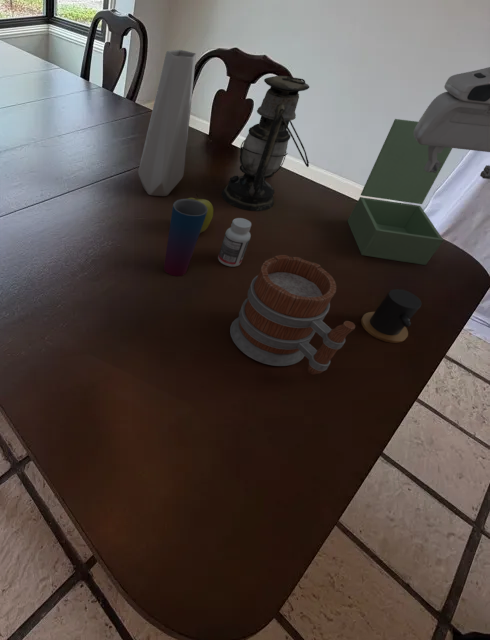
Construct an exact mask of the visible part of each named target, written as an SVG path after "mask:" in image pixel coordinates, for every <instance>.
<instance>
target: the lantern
mask: <svg viewBox="0 0 490 640" xmlns="http://www.w3.org/2000/svg"><path fill="white" fill-rule="evenodd" d="M263 82H264V83H265V84H266V85H267V86H269V88H268V89H267V91H266V92H265V95H264V98H263V99H262V102H261V104H260V106H259V107H258V108H257V110H256V112H257V115H259V116H260V119H259V122H258V123H255V124H253V126H251V127H249V129H248V133H247V136H245V139H244V140H243V141H242V142H241V144H240V149H239V150H240V151H239V153H240V154H239V163H240V166H239V170H240V171H241V173H243V175H240V176H239V175H233V176H231V177H230V178H229V180H228V183H227V185H226V186H225V187H224V188H223V189H222V190H221V193H220V195H221V198H222V199H223V201H225V202H226V203H227V204H229V205H231V206H233V207H235V208H238V209H240V210H245V211H249V212H250V211H251V212H262V211H267V210H270V209H271V208H272V207H273V206H274V205H275V202H274V199H275V198H274V197H275V196H274V194H275V188H274V187H273V186H272V185H271V184H270V183H269V182H268V181H267V180H266V179H269V178H272V177H273V176H275V174H276V173H278V171H279V170H280V169H281V168H282V167H283V164H284V162H285V160H286V156H287V155H288V152H287V150H288V143H289V141H290V139H292V140H293V143H294V145H295V146H296V149H297V150H298V153H299V155H300V157H301V159H302V161H303V163H304V165H305V166H306V167H307V168H308V167H310V164H309V163H310V162H309V159H308V155H307V151H306V149H305V147H304V143H303V142H302V140H301V138H300V137H299V136H300V135H298V133H297V130H296V128H295V127H294V124H293V123H292V121H293V120H296V116H297V115H296V109H297V106H298V102H299V99H300V94H299V92H303V91H307V90H308V89H310V85H309V84H308V83H306V80H305V79H303V78H300V77H294V76H289V75H288V76H287V75H275V76H270V77H266V78H264V79H263ZM288 122H289V124H290V126H291V127H292V129H293V132H294V133H295V135H296V138H297V140H298V141H299V144H300V146H301V148H302V150H303V153H304V155H303V153H302V151H301V149H300V147H299V145H298V143H297V140H296V139H295V137H294V135H293V133H292V131H291V130H290V128H289V126H288Z"/></svg>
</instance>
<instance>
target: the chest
mask: <svg viewBox="0 0 490 640" xmlns="http://www.w3.org/2000/svg"><path fill="white" fill-rule="evenodd" d="M346 221H347V223H348V226H349V228H350V231H351V233H352V236H353V238H354V241H355V243H356V245H357V247H358V250H359V252H360V254H361V256H366V257H372V258H377V259H378V258H379V259H384V260H391V261H398V262H403V263H410V264H417V265H422V266H426V265H427V264H428V263H429V261H430V260H431V259H432V257H433V256H434V255H435V253H436V252H437V251H438V249H439V248H440V246H441V245H442V244H443V243H444V241H445V240H444V238H443V237H442V236H441V234H440V232H439V231H438V230H437V229H436V227H435V225H434V224H433V223H432V220H431V219H430V218H429V216H428V215H427V213H426V212H425V210H424V209H423V208H422V206H421V205H419V204H413V203H406V202H404V203H403V202H399V201H392V200H385V199H378V198H371V197H364V196H360V197H359V198H358V200H357V202H356V203H355V205H354V207H353V209H352V210H351V213H350V215H349V216H348V218H347V220H346Z"/></svg>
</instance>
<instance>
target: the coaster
mask: <svg viewBox="0 0 490 640" xmlns="http://www.w3.org/2000/svg"><path fill="white" fill-rule="evenodd" d="M374 313H375V311H369V312H366V313H364V314H363V315H362V317H361V319H360V324H361V326H362V328H363V329H364V330H365V331H366V333H368V334H369V335H371V336H372V337H373V338H375V339H377V340H380V341H382V342H385V343H391V344H399V343H402V342H404V341H406V340H407V338H408V337H409V331H408V327H404V328H403V329H402V330H401V332H400V333H399V334H397V335H386V334H383V333H381V332H379V331H377V330H376V329H374V328H373V327H372V325H371V324H370V318H371V317H372V316H373V314H374Z"/></svg>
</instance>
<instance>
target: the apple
mask: <svg viewBox="0 0 490 640" xmlns="http://www.w3.org/2000/svg"><path fill="white" fill-rule="evenodd" d="M195 194H196V198H194V197H188V198H187V199H193V200H197V201H199V202H201V203H203V204H204V205H206V207H207V209H208V211H207V214H206V217H205V220H204V223H203V225H202V228H201V231H200V234H201V233H203V232H205V231H206V230H207V229H208V227H209V226H210V224H211V222H212V219H213V217H214V206H213V204H212V203H211V202H210V201H209V200H208V199H205V198H199V197H198V193H195Z"/></svg>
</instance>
